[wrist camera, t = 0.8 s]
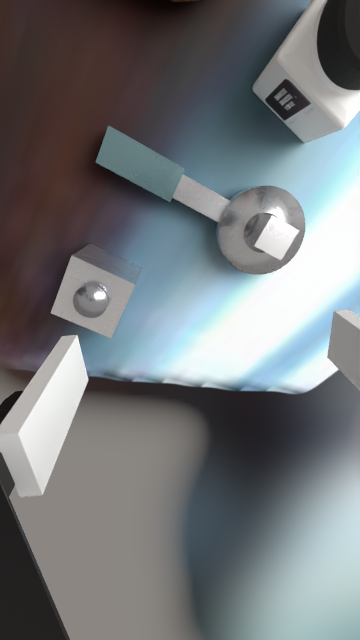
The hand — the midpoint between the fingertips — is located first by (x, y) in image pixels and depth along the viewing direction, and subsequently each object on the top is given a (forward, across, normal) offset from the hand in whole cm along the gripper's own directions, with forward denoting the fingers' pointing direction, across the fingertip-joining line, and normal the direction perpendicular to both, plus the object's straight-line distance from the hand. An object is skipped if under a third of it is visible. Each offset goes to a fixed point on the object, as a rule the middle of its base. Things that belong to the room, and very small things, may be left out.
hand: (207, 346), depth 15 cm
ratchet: (+22, +3, +6) cm, 23 cm away
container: (+22, +13, +16) cm, 30 cm away
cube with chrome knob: (+22, -9, -2) cm, 24 cm away
